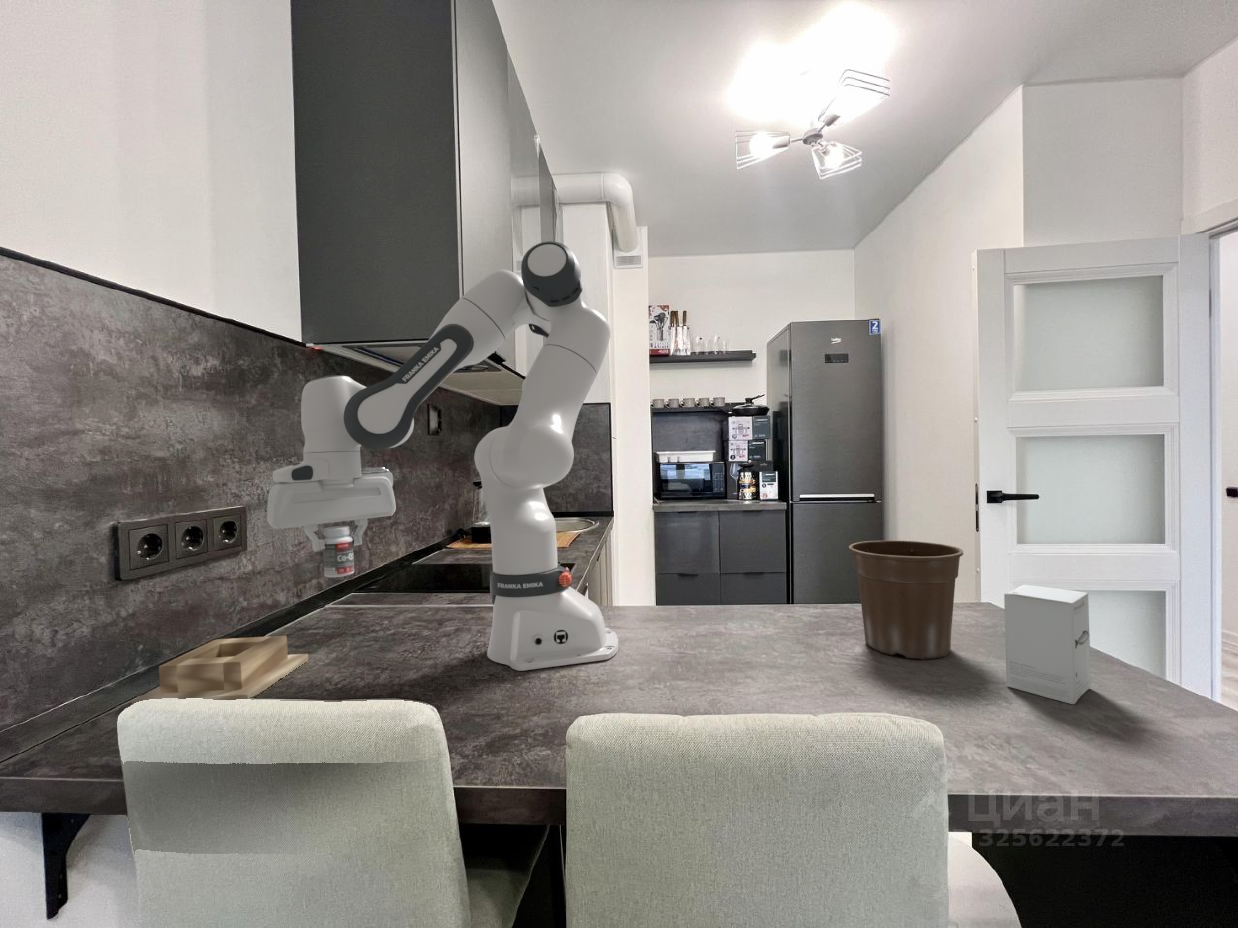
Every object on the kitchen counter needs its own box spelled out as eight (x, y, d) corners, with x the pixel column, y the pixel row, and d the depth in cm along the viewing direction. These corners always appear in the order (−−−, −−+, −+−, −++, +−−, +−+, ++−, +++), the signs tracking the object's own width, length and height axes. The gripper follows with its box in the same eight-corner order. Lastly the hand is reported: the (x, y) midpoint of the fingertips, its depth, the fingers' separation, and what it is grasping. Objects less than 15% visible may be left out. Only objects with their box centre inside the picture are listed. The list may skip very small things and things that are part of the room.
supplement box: (1076, 706, 65) (1072, 602, 65) (1004, 686, 71) (1001, 592, 71) (1093, 688, 70) (1090, 591, 70) (1024, 671, 76) (1021, 582, 76)
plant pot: (906, 625, 97) (903, 536, 97) (992, 655, 82) (988, 549, 82) (831, 638, 92) (828, 544, 92) (908, 672, 77) (904, 560, 77)
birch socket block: (308, 660, 93) (307, 630, 93) (247, 702, 77) (246, 666, 77) (213, 665, 92) (211, 635, 92) (132, 709, 76) (130, 673, 76)
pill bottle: (341, 577, 92) (338, 529, 92) (317, 577, 93) (314, 529, 93) (360, 571, 96) (357, 525, 96) (338, 571, 97) (335, 525, 97)
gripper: (384, 466, 104) (388, 537, 104) (261, 472, 89) (266, 556, 89) (399, 465, 100) (403, 540, 100) (272, 472, 85) (278, 559, 85)
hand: (338, 547), depth 95 cm, fingers closed on pill bottle, 5 cm apart
